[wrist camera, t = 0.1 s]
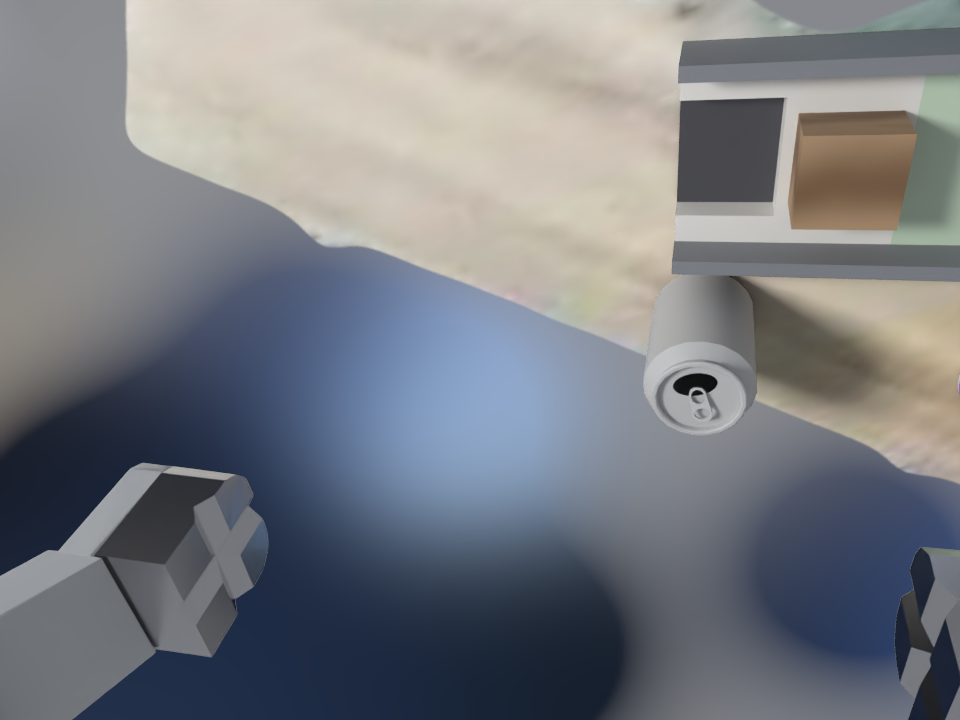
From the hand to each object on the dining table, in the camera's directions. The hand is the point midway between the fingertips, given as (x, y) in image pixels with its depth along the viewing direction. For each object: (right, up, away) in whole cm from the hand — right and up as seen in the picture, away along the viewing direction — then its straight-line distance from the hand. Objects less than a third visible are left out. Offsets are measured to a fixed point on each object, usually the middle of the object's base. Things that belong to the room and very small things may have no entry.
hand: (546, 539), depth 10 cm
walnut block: (+22, +15, +40) cm, 48 cm away
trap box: (+26, +16, +41) cm, 51 cm away
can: (+17, +6, +52) cm, 55 cm away
